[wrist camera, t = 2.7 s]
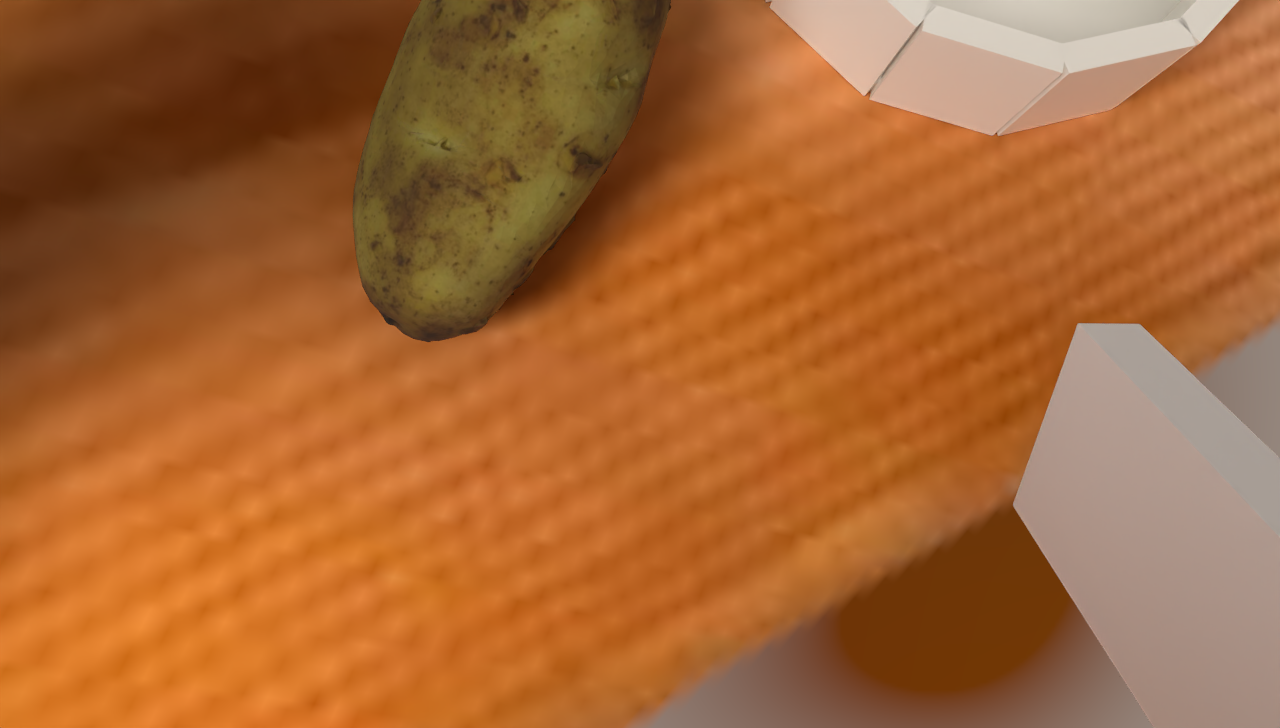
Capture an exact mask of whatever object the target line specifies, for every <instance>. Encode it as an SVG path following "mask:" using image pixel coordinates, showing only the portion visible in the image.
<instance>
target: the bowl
mask: <svg viewBox="0 0 1280 728" xmlns="http://www.w3.org/2000/svg"><path fill="white" fill-rule="evenodd" d="M765 1H766V2H771V1H772V3H771V5H770V7H769V8H770V9H772V10H773V11H774V12H775V13H776V14H777V15H778V16H779V17H780V18H781V19H782V20H783V21H784V22H785V23H786V24H787V25H789V26H790V27H791V28H792V29H793V30H794V31H795V32H796V33H797V34H798V35H799V36H800V37H801V38H802V39H803V40H804V41H806V42H807V43H808V44H809V45H810V46H811V47H812V48H813V49H814V50H815V51H816V52H817V53H818V54H819V55H820V56H822V57H823V58H824V59H825V60H826V61H827V62H828V63H829V64H830V65H831V66H832V67H833V68H834V69H835V70H836V71H837V72H839V73H840V74H841V75H842V76H843V77H844V78H845V79H846V80H847V81H848V82H849V83H850V84H851V85H852V86H853V87H855V88H856V89H857V90H858V91H859V92H860V93H861V94H862V95H863V96H865V95H866V94H867V93H868V92H869V91H870V92H871V94H870V99H869V100H873V101H876V102H879V103H883V104H886V105H890V106H893V107H896V108H900V109H903V110H906V111H910V112H913V113H917V114H920V115H923V116H927V117H930V118H934V119H937V120H940V121H944V122H947V123H951V124H954V125H957V126H961V127H964V128H967V129H971V130H974V131H978V132H981V133H984V134H988V135H991V136H993V135H994V134H995V133H996V132H997V134H998V136H1001V135H1005V134H1009V133H1014V132H1018V131H1022V130H1027V129H1031V128H1035V127H1040V126H1044V125H1048V124H1052V123H1057V122H1061V121H1065V120H1070V119H1074V118H1078V117H1083V116H1087V115H1091V114H1096V113H1100V112H1104V111H1108V110H1112V109H1113V108H1114V107H1117V106H1118V105H1119V104H1120V103H1122V102H1123V101H1124V100H1126V99H1127V98H1128V97H1130V96H1131V95H1132V94H1134V93H1135V92H1136V91H1138V90H1139V89H1140V88H1142V87H1143V86H1144V85H1146V84H1147V83H1148V82H1149V81H1151V80H1152V79H1153V78H1155V77H1156V76H1157V75H1159V74H1160V73H1161V72H1163V71H1164V70H1165V69H1167V68H1168V67H1169V66H1171V65H1172V64H1173V63H1174V62H1176V61H1177V60H1178V59H1180V58H1181V57H1182V56H1184V55H1185V54H1186V53H1188V52H1189V51H1190V50H1192V49H1193V48H1194V47H1196V46H1197V45H1198V44H1199V43H1201V42H1202V41H1203V40H1204V38H1205V37H1206V36H1207V35H1208V34H1209V33H1210V32H1211V31H1212V30H1213V29H1214V27H1215V26H1216V25H1217V24H1218V23H1219V22H1220V21H1221V20H1222V19H1223V17H1224V16H1225V15H1226V14H1227V13H1228V12H1229V11H1230V10H1231V9H1232V8H1233V6H1234V5H1235V4H1236V3H1237V2H1238V1H1239V0H765Z"/></svg>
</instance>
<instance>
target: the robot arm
mask: <svg viewBox="0 0 1280 728" xmlns="http://www.w3.org/2000/svg"><path fill="white" fill-rule="evenodd" d="M1013 506H1014V508H1015V510H1016V511H1017V513H1018V514H1019V516H1020V518H1021V519H1022V521H1023V522H1024V524H1025V525H1026V527H1027V529H1028V530H1029V532H1030V533H1031V535H1032V536H1033V538H1034V540H1035V541H1036V543H1037V544H1038V546H1039V547H1040V549H1041V551H1042V552H1043V554H1044V555H1045V557H1046V559H1047V560H1048V562H1049V563H1050V565H1051V567H1052V568H1053V570H1054V571H1055V573H1056V574H1057V576H1058V577H1059V579H1060V581H1061V582H1062V584H1063V585H1064V587H1065V589H1066V590H1067V592H1068V593H1069V595H1070V597H1071V598H1072V599H1073V601H1074V602H1075V604H1076V606H1077V607H1078V609H1079V611H1080V612H1081V614H1082V615H1083V617H1084V618H1085V620H1086V622H1087V623H1088V625H1089V627H1090V628H1091V630H1092V631H1093V633H1094V634H1095V636H1096V638H1097V639H1098V641H1099V642H1100V644H1101V645H1102V647H1103V649H1104V650H1105V652H1106V653H1107V655H1108V657H1109V658H1110V660H1111V661H1112V663H1113V664H1114V666H1115V668H1116V669H1117V671H1118V672H1119V674H1120V675H1121V677H1122V678H1123V680H1124V682H1125V683H1126V685H1127V686H1128V688H1129V690H1130V691H1131V693H1132V694H1133V696H1134V698H1135V699H1136V701H1137V702H1138V704H1139V705H1140V707H1141V709H1142V710H1143V712H1144V713H1145V715H1146V717H1147V718H1148V720H1149V721H1150V723H1151V724H1152V726H1153V727H1154V728H1280V458H1279V457H1278V456H1277V455H1276V454H1275V453H1274V452H1273V451H1272V450H1271V449H1270V448H1269V447H1268V446H1267V445H1266V444H1265V443H1264V442H1263V441H1262V440H1261V439H1259V437H1257V436H1256V435H1255V434H1254V433H1253V432H1252V431H1251V430H1250V429H1249V428H1248V427H1247V426H1246V425H1245V424H1244V423H1243V422H1242V421H1240V419H1239V418H1238V417H1236V416H1235V415H1234V414H1233V413H1232V412H1231V411H1230V410H1229V409H1228V408H1227V407H1226V406H1225V405H1224V404H1223V403H1222V402H1220V400H1219V399H1218V398H1217V397H1216V396H1215V395H1213V394H1212V393H1211V392H1210V391H1209V390H1208V389H1207V388H1206V387H1205V386H1204V385H1203V384H1202V383H1201V382H1200V381H1199V380H1198V379H1197V378H1196V377H1195V376H1194V375H1193V374H1192V373H1190V372H1189V371H1188V370H1187V369H1186V368H1185V367H1184V366H1183V365H1182V364H1181V363H1180V362H1179V361H1178V360H1177V359H1176V358H1175V357H1174V356H1173V355H1172V354H1171V353H1170V352H1168V351H1167V350H1166V349H1165V348H1164V347H1163V346H1162V345H1161V344H1160V343H1159V342H1158V341H1157V340H1156V339H1155V338H1154V337H1153V336H1152V335H1151V334H1150V333H1149V332H1148V331H1147V330H1145V329H1144V328H1143V327H1142V326H1141V325H1140V324H1097V323H1078V325H1077V327H1076V330H1075V333H1074V336H1073V338H1072V341H1071V344H1070V347H1069V350H1068V352H1067V355H1066V358H1065V361H1064V364H1063V366H1062V369H1061V372H1060V375H1059V377H1058V380H1057V383H1056V386H1055V389H1054V391H1053V394H1052V397H1051V400H1050V403H1049V405H1048V408H1047V411H1046V414H1045V417H1044V419H1043V422H1042V425H1041V428H1040V430H1039V433H1038V436H1037V439H1036V442H1035V444H1034V447H1033V450H1032V453H1031V456H1030V458H1029V461H1028V464H1027V467H1026V470H1025V472H1024V475H1023V478H1022V481H1021V483H1020V486H1019V489H1018V492H1017V495H1016V497H1015V500H1014V503H1013Z"/></svg>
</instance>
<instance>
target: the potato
mask: <svg viewBox="0 0 1280 728" xmlns="http://www.w3.org/2000/svg"><path fill="white" fill-rule="evenodd" d="M670 3H671V0H421V2H420V4H419V6H418V8H417V10H416V11H415V13H414V15H413V17H412V19H411V21H410V23H409V25H408V28H407V30H406V32H405V35H404V37H403V40H402V42H401V45H400V48H399V50H398V53H397V55H396V58H395V61H394V64H393V67H392V69H391V72H390V74H389V76H388V79H387V82H386V84H385V87H384V89H383V91H382V94H381V96H380V99H379V101H378V104H377V107H376V110H375V112H374V114H373V118H372V121H371V125H370V129H369V132H368V135H367V139H366V142H365V145H364V148H363V152H362V156H361V160H360V164H359V168H358V172H357V177H356V182H355V188H354V196H353V227H354V238H355V249H356V257H357V263H358V268H359V273H360V278H361V282H362V286H363V288H364V290H365V292H366V294H367V296H368V298H369V300H370V302H371V303H372V304H373V305H374V306H375V307H376V308H377V309H378V310H379V312H380V313H381V314H382V316H383V317H384V319H385V321H386V322H387V323H388V324H390V325H394V326H396V327H397V328H398V329H399V330H400V331H401V332H402V333H403V334H405V335H407V336H409V337H411V338H413V339H417V340H422V341H426V342H430V341H440V340H444V339H449V338H453V337H457V336H459V335H462V334H468V333H472V332H476V331H478V330H479V329H480V328H482V327H483V326H484V325H486V324H487V322H488V320H489V319H490V318H491V317H492V316H493V315H494V314H495V313H496V312H497V311H498V310H500V308H501V307H502V305H503V303H504V302H505V301H506V299H508V297H509V296H510V295H513V291H514V290H515V289H516V288H518V287H520V286H521V285H522V284H523V283H524V282H525V281H526V280H527V278H528V277H529V276H530V274H531V273H532V272H533V270H534V266H535V264H536V263H537V261H538V260H539V258H540V257H541V256H542V255H544V254H545V253H546V252H547V251H549V250H551V249H552V248H553V247H554V245H555V244H556V243H557V241H558V240H559V238H560V237H561V236H562V234H563V233H564V231H565V230H566V229H567V228H568V227H569V226H570V225H571V224H572V222H573V221H574V220H575V214H576V212H577V211H578V209H579V208H580V207H581V205H582V204H583V203H584V201H585V200H586V198H587V197H588V196H589V194H590V193H591V191H592V189H593V188H594V186H595V185H596V183H597V182H598V180H599V179H600V177H601V175H602V174H604V173H605V172H606V170H607V167H608V165H609V163H610V161H611V160H612V158H613V157H614V156H615V154H616V152H617V150H618V148H619V147H620V145H621V143H622V142H623V140H624V139H625V137H626V135H627V133H628V131H629V129H630V127H631V126H632V124H633V122H634V120H635V118H636V115H637V113H638V111H639V109H640V106H641V103H642V99H643V95H644V91H645V86H646V83H647V79H648V75H649V72H650V68H651V64H652V61H653V58H654V55H655V52H656V49H657V46H658V43H659V40H660V37H661V34H662V32H663V29H664V26H665V23H666V19H667V14H668V12H669V10H670V8H671V6H670Z"/></svg>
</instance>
